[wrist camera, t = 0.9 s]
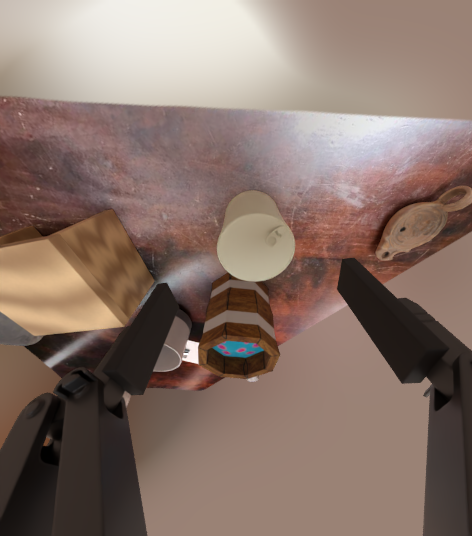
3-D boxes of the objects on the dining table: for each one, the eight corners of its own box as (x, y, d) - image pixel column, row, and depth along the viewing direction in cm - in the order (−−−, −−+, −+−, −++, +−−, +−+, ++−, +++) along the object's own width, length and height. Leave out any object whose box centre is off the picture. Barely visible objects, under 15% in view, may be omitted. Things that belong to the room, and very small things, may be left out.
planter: (146, 292, 40) (121, 331, 32) (199, 309, 43) (188, 349, 35) (140, 324, 47) (117, 363, 39) (185, 337, 50) (174, 376, 41)
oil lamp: (381, 259, 33) (400, 275, 29) (354, 241, 31) (371, 255, 27) (459, 197, 27) (498, 206, 23) (431, 170, 25) (469, 174, 21)
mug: (200, 277, 37) (179, 341, 25) (262, 264, 35) (272, 327, 23) (228, 331, 48) (223, 395, 36) (277, 324, 45) (289, 389, 33)
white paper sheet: (210, 345, 52) (209, 350, 51) (199, 364, 59) (198, 368, 57) (170, 335, 50) (168, 340, 49) (164, 355, 56) (162, 360, 55)
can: (289, 218, 29) (313, 253, 20) (250, 252, 33) (254, 295, 24) (252, 176, 26) (257, 193, 16) (213, 219, 30) (199, 254, 20)
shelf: (26, 226, 32) (-71, 261, 22) (112, 208, 30) (47, 238, 20) (84, 290, 41) (34, 336, 31) (154, 280, 38) (124, 326, 28)
